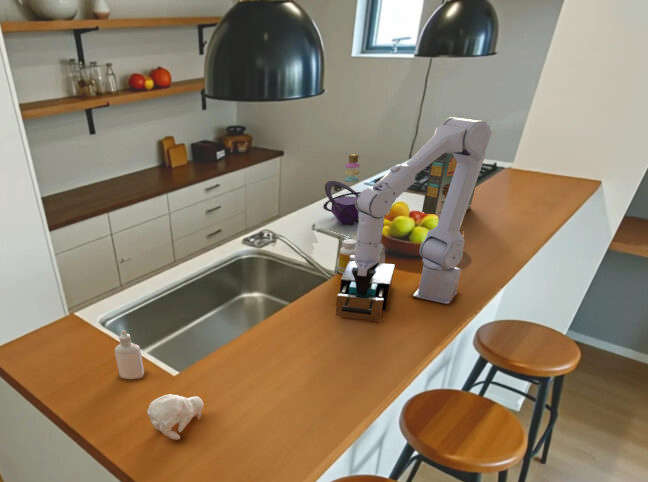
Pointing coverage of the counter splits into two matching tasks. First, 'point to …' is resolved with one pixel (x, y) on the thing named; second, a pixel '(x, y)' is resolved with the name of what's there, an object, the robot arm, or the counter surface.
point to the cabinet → (380, 278)
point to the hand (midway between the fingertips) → (362, 290)
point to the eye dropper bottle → (129, 358)
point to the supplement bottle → (346, 254)
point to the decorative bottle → (344, 196)
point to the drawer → (360, 304)
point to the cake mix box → (440, 184)
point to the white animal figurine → (174, 413)
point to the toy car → (370, 291)
